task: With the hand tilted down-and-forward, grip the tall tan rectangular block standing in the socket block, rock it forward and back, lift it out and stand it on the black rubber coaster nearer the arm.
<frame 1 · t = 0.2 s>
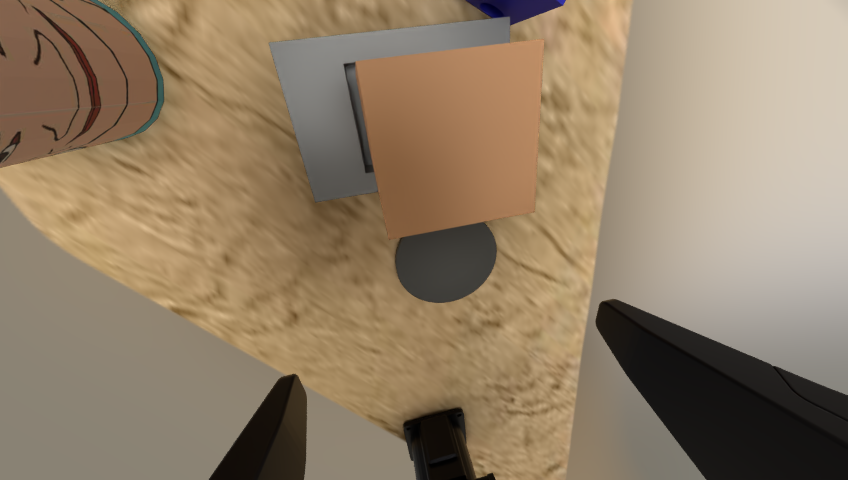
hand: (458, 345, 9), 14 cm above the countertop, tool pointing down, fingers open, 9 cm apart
cup: (88, 69, 16), on the countertop
socket block: (400, 112, 19), on the countertop
coaster: (445, 257, 25), on the countertop
tan rectangular block: (401, 112, 19), resting on socket block
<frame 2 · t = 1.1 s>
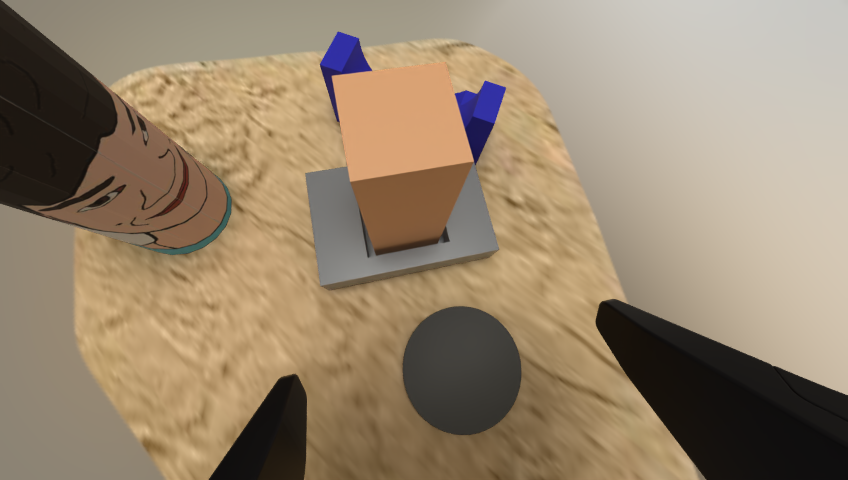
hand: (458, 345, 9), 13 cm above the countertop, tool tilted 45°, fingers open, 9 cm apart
cup: (185, 211, 23), on the countertop
socket block: (401, 222, 24), on the countertop
coaster: (461, 366, 21), on the countertop
cable clip: (414, 125, 27), on the countertop, touching socket block
tan rectangular block: (401, 220, 23), resting on socket block
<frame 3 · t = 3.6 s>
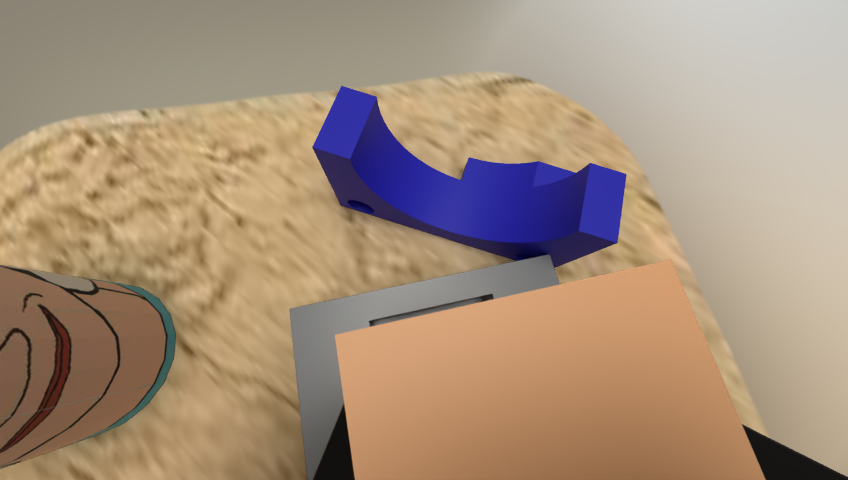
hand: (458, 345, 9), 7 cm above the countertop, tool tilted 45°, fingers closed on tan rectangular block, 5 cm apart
cup: (102, 355, 15), on the countertop
socket block: (439, 366, 15), on the countertop
cable clip: (453, 204, 18), on the countertop, touching socket block
tan rectangular block: (441, 367, 15), resting on socket block, touching gripper
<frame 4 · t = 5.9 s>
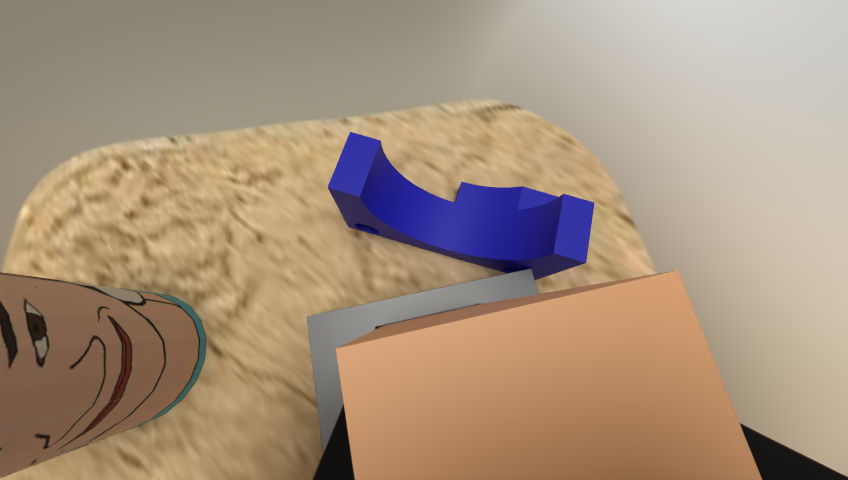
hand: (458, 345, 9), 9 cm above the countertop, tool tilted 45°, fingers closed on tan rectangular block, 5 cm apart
cup: (142, 356, 17), on the countertop
socket block: (435, 365, 18), on the countertop
cable clip: (448, 223, 21), on the countertop
tan rectangular block: (440, 363, 15), point 3 cm above the countertop, touching gripper
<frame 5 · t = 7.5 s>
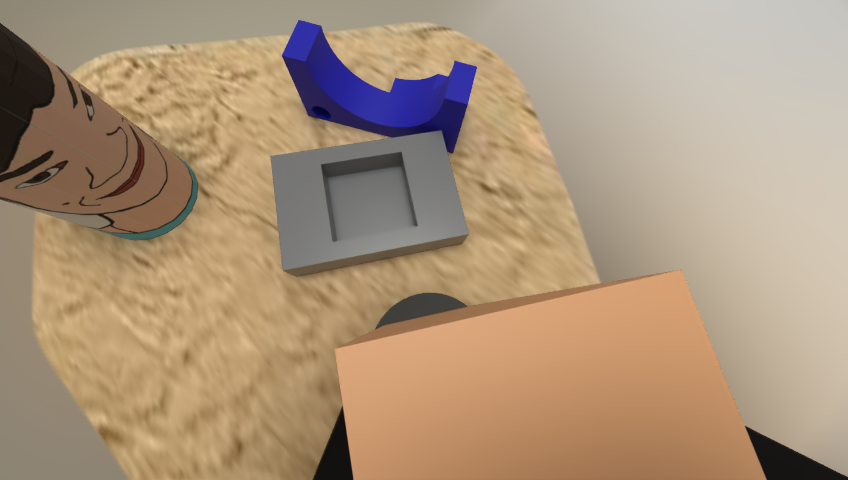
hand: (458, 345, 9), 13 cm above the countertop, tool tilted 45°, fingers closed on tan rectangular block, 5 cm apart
cup: (150, 196, 23), on the countertop
socket block: (372, 208, 23), on the countertop
coaster: (430, 353, 21), on the countertop
cable clip: (388, 114, 26), on the countertop
tan rectangular block: (440, 363, 15), point 6 cm above the countertop, touching gripper
when the fingers open (8 cm above the countertop, at t = 8.5 s): tan rectangular block drops 1 cm, resting on coaster.
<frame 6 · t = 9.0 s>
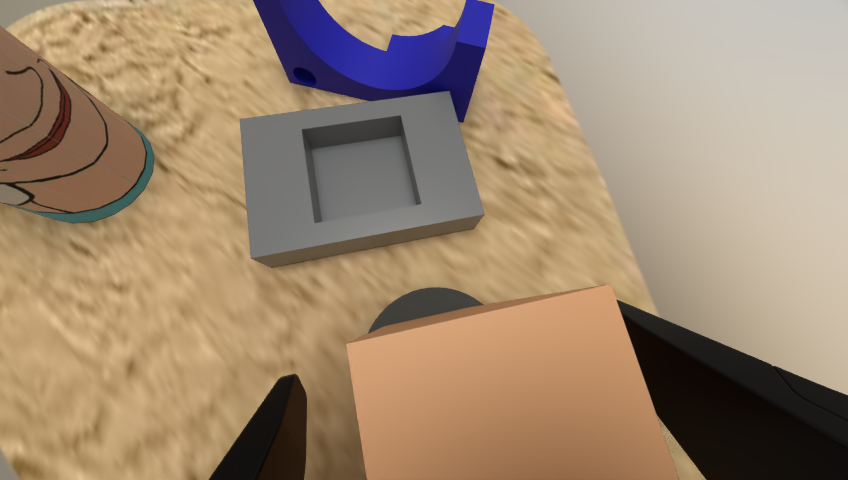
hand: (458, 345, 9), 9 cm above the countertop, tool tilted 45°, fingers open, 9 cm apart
cup: (95, 170, 19), on the countertop
socket block: (365, 186, 19), on the countertop
coaster: (436, 363, 17), on the countertop
cable clip: (385, 80, 22), on the countertop
tan rectangular block: (436, 361, 16), point 1 cm above the countertop, touching coaster
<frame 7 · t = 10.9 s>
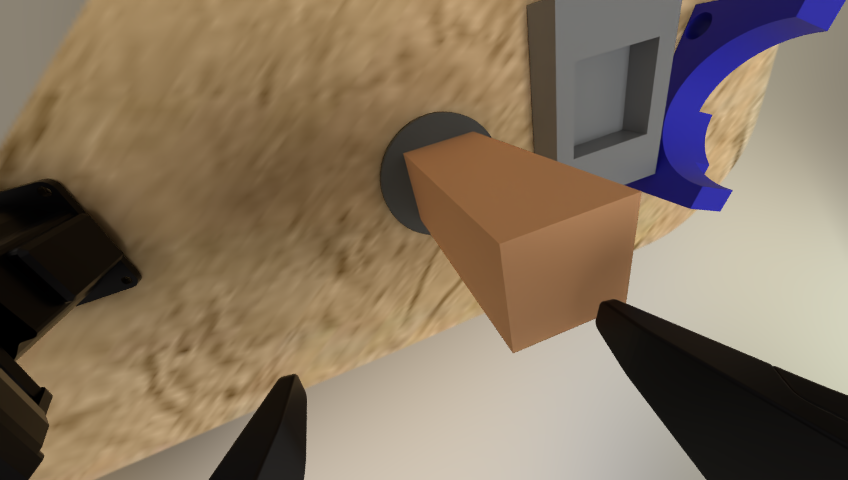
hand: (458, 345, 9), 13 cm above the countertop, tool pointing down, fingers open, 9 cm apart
socket block: (585, 98, 21), on the countertop
coaster: (440, 176, 21), on the countertop
cable clip: (669, 108, 24), on the countertop, touching socket block
tan rectangular block: (445, 177, 20), point 1 cm above the countertop, touching coaster
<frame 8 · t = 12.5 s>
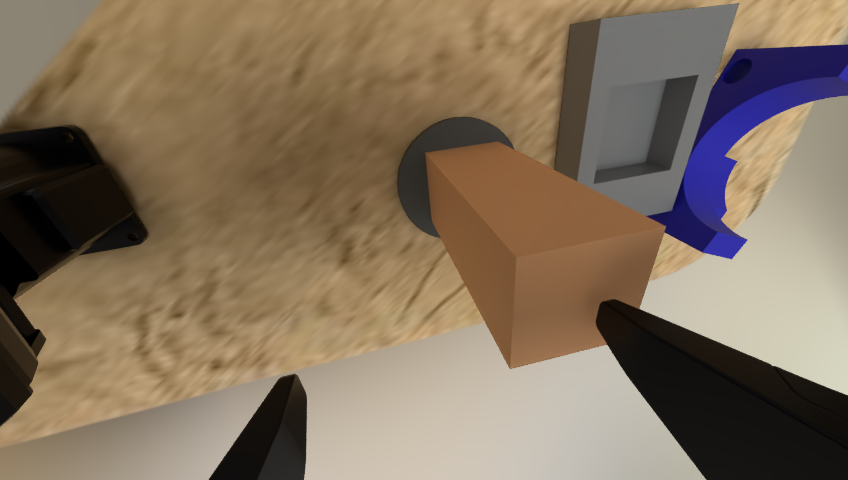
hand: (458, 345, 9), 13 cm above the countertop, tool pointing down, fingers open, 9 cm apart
socket block: (613, 125, 21), on the countertop
coaster: (457, 181, 21), on the countertop
cable clip: (695, 148, 24), on the countertop
tan rectangular block: (463, 182, 20), point 1 cm above the countertop, touching coaster
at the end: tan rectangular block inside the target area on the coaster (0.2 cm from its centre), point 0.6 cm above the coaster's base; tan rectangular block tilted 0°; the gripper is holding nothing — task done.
